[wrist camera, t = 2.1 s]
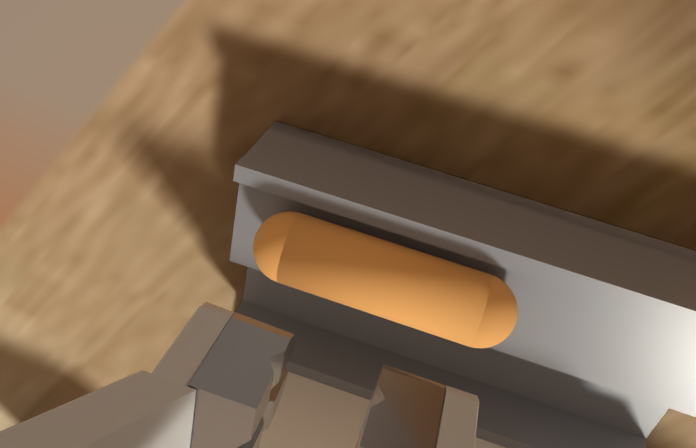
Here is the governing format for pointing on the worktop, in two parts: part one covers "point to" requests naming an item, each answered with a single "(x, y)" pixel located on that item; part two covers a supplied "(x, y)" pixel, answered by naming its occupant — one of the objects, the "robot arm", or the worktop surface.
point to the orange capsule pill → (386, 279)
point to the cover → (320, 417)
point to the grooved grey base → (496, 259)
